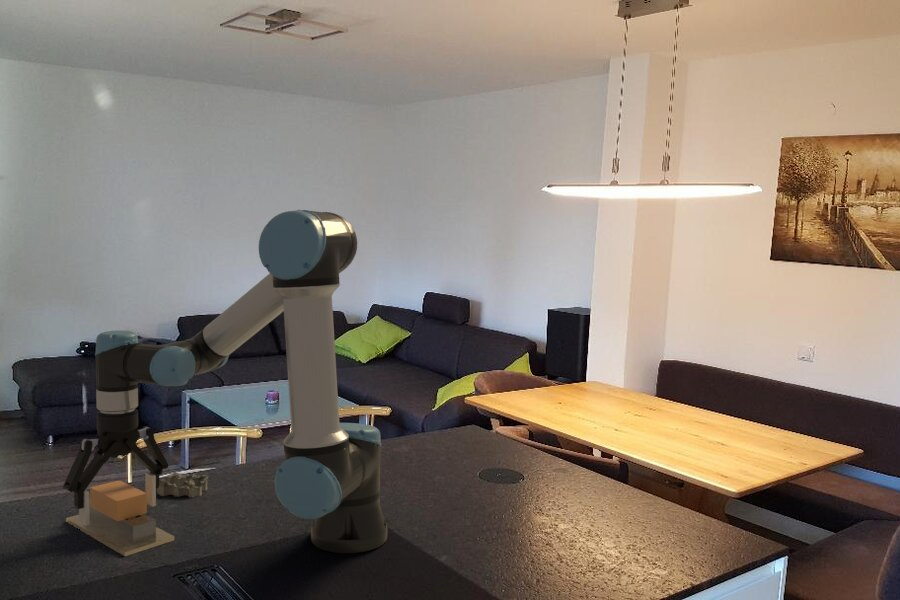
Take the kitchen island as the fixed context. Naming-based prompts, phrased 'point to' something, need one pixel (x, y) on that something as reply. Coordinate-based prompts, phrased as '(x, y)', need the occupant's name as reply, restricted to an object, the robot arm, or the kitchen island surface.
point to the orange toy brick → (118, 500)
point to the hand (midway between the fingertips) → (118, 513)
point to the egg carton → (182, 485)
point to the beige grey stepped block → (123, 532)
